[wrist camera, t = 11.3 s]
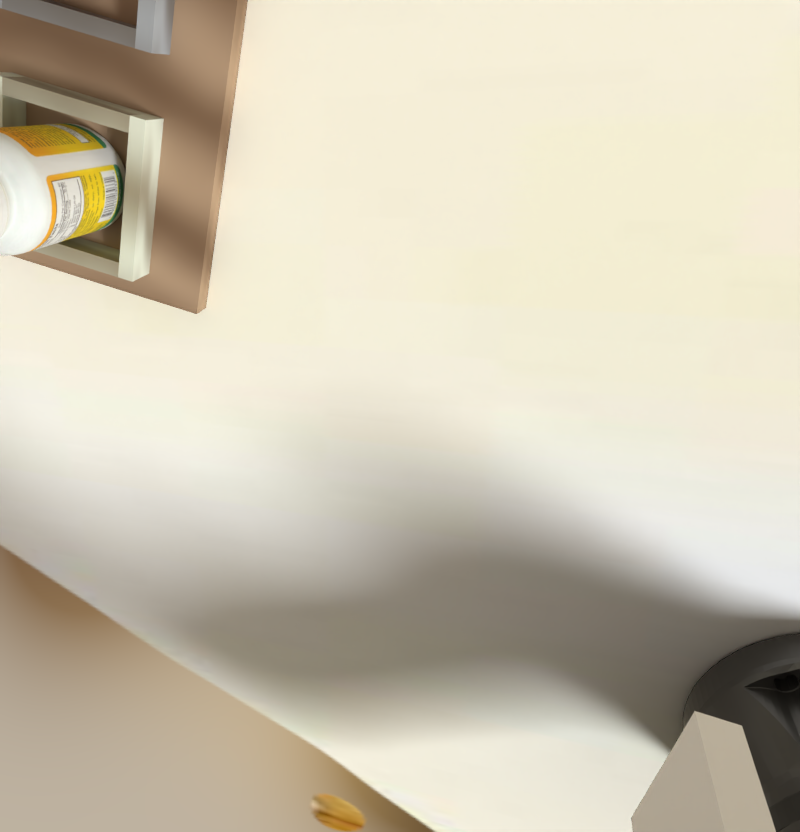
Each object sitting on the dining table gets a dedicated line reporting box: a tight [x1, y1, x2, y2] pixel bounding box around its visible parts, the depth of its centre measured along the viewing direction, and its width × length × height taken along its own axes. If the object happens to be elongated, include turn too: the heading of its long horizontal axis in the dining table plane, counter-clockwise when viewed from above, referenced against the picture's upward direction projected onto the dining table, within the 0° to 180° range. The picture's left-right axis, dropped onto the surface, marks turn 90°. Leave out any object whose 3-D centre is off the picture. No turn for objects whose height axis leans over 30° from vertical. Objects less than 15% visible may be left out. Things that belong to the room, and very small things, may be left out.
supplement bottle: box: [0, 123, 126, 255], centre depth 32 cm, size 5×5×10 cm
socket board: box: [0, 0, 248, 314], centre depth 34 cm, size 22×14×3 cm, turn 165°
